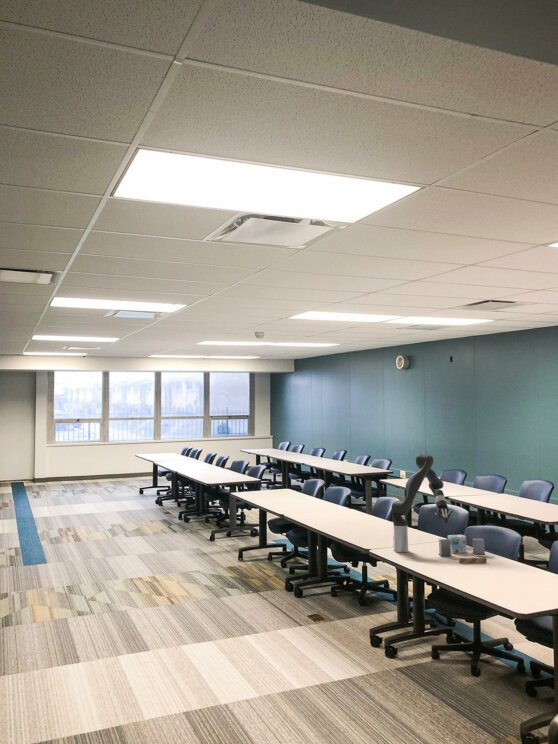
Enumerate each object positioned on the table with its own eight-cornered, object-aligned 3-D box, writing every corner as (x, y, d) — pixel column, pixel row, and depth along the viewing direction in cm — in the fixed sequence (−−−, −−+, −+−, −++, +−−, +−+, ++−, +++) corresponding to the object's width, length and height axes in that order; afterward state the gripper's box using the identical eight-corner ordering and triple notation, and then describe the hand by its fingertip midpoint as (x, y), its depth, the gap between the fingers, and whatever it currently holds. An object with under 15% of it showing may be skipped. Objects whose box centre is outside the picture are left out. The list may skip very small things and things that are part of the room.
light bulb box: (451, 553, 398) (451, 536, 399) (447, 551, 405) (446, 535, 406) (467, 552, 400) (466, 536, 400) (462, 550, 406) (462, 534, 407)
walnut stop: (460, 563, 369) (460, 558, 370) (459, 562, 372) (459, 557, 372) (486, 563, 370) (486, 558, 370) (485, 562, 372) (485, 557, 372)
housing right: (475, 556, 389) (474, 540, 390) (472, 554, 395) (471, 538, 396) (485, 555, 390) (485, 540, 390) (482, 553, 395) (481, 538, 396)
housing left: (441, 556, 389) (440, 540, 390) (438, 554, 395) (438, 539, 396) (451, 556, 389) (451, 540, 390) (449, 554, 395) (448, 539, 396)
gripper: (432, 499, 436) (438, 519, 423) (451, 499, 437) (456, 519, 423) (431, 506, 441) (436, 526, 428) (449, 506, 442) (454, 526, 428)
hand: (446, 522), depth 426 cm, fingers closed
